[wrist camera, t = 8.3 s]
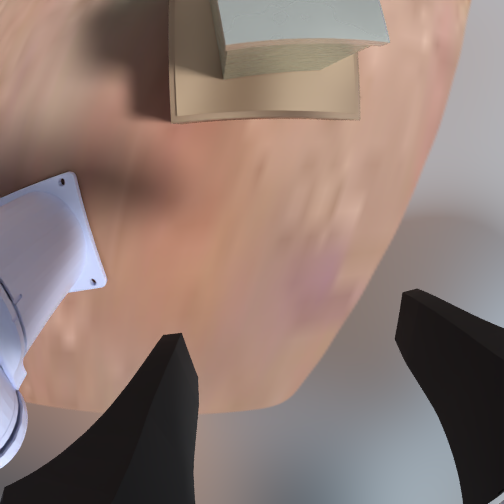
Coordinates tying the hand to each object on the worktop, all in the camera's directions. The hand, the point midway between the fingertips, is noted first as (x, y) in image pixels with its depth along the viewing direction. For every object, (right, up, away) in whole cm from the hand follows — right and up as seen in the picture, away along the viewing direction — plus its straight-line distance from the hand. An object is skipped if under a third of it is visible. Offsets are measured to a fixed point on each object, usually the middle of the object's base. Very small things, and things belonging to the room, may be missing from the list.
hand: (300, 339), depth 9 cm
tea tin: (-1, +13, +2) cm, 13 cm away
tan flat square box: (-1, +15, +5) cm, 16 cm away
